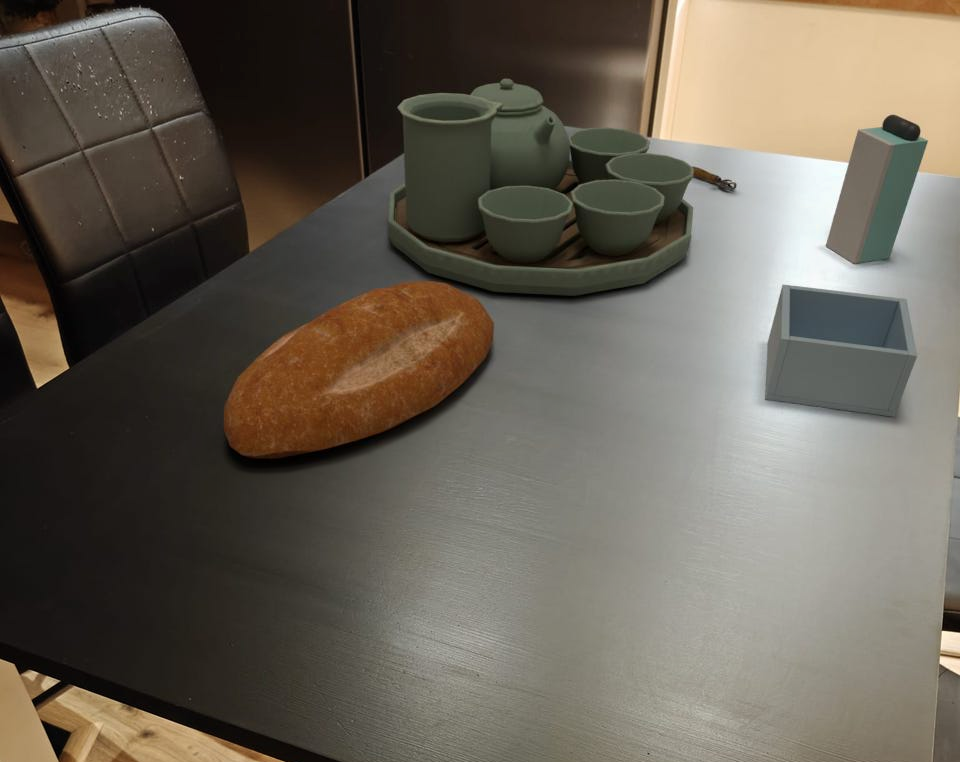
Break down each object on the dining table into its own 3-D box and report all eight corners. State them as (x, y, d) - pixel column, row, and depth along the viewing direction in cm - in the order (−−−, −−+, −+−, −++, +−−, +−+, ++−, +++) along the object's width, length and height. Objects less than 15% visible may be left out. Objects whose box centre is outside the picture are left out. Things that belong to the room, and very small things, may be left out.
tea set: (609, 331, 104) (628, 174, 93) (326, 248, 119) (312, 104, 107) (736, 219, 129) (764, 84, 117) (488, 162, 143) (491, 37, 132)
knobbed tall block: (860, 240, 124) (899, 110, 113) (889, 258, 120) (933, 125, 109) (825, 246, 123) (861, 114, 112) (853, 264, 119) (894, 130, 108)
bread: (540, 350, 101) (545, 269, 95) (305, 501, 81) (293, 410, 74) (416, 303, 108) (414, 225, 102) (173, 430, 88) (151, 343, 82)
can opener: (688, 174, 141) (689, 166, 140) (699, 171, 142) (701, 163, 141) (730, 193, 135) (732, 185, 135) (742, 190, 136) (743, 182, 136)
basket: (885, 357, 101) (906, 298, 97) (894, 417, 93) (917, 355, 88) (767, 342, 103) (782, 283, 99) (764, 399, 95) (781, 338, 90)
